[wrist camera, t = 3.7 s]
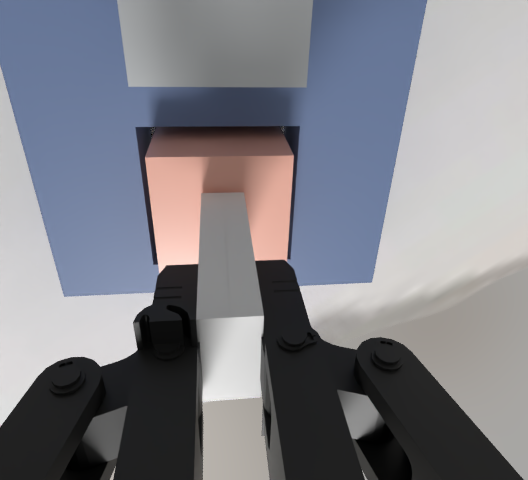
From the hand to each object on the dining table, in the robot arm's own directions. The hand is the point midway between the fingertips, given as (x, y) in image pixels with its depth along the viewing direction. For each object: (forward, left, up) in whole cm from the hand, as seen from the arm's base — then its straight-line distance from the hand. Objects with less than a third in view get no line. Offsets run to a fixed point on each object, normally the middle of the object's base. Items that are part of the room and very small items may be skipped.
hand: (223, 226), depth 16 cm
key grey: (-8, 0, -3) cm, 8 cm away
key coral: (0, 0, -4) cm, 4 cm away
